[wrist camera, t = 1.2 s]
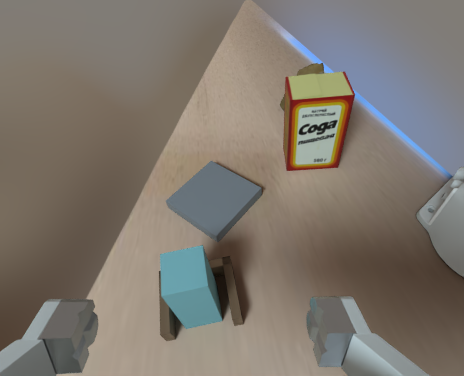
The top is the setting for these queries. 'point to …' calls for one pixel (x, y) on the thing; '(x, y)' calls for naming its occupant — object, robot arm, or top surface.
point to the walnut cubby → (218, 268)
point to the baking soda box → (316, 119)
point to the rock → (307, 70)
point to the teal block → (190, 287)
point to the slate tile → (214, 200)
